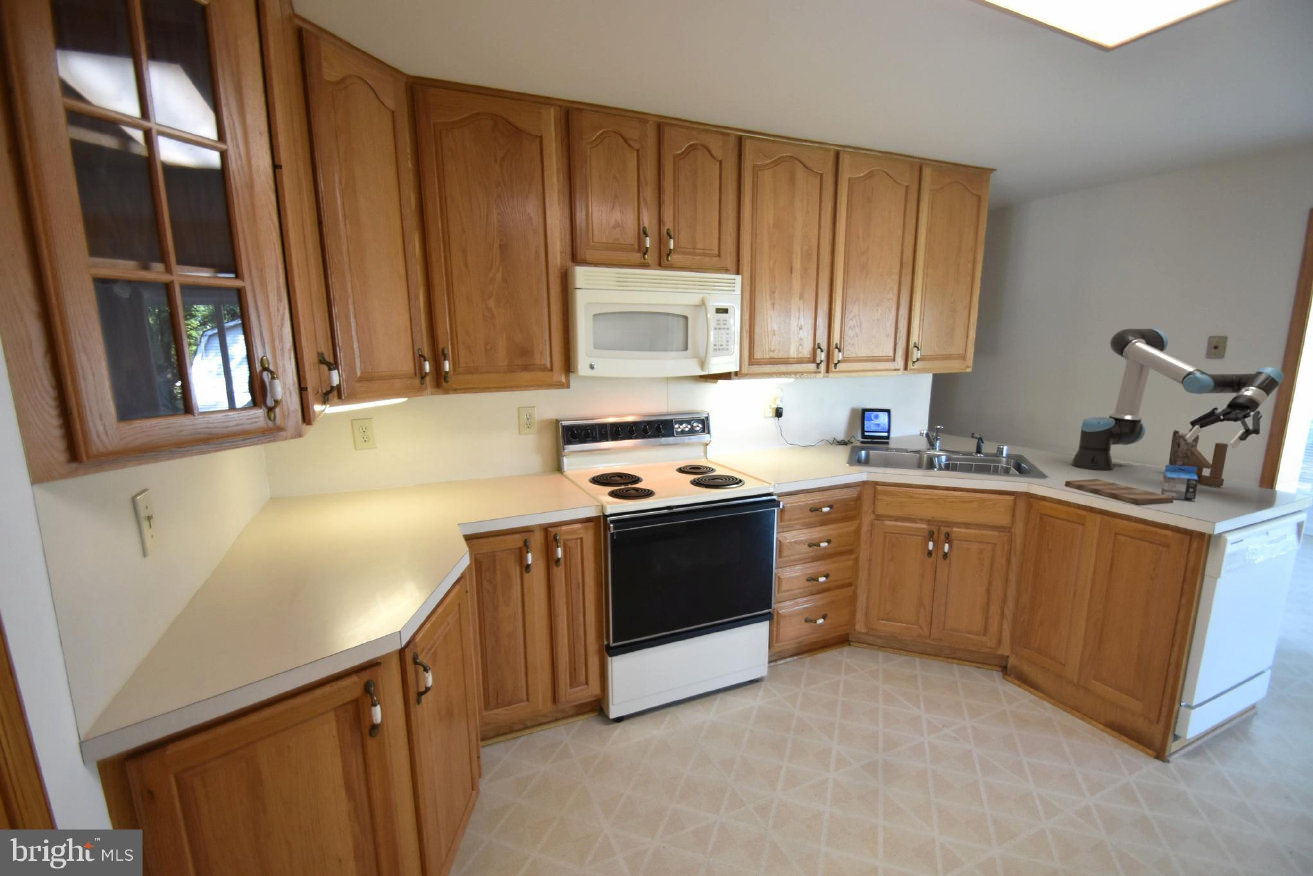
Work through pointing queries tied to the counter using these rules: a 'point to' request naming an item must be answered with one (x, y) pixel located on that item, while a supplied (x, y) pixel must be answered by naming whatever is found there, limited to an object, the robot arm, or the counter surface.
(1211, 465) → the wooden block
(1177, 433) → the stone block
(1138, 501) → the walnut board
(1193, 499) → the label tape box
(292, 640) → the counter surface
